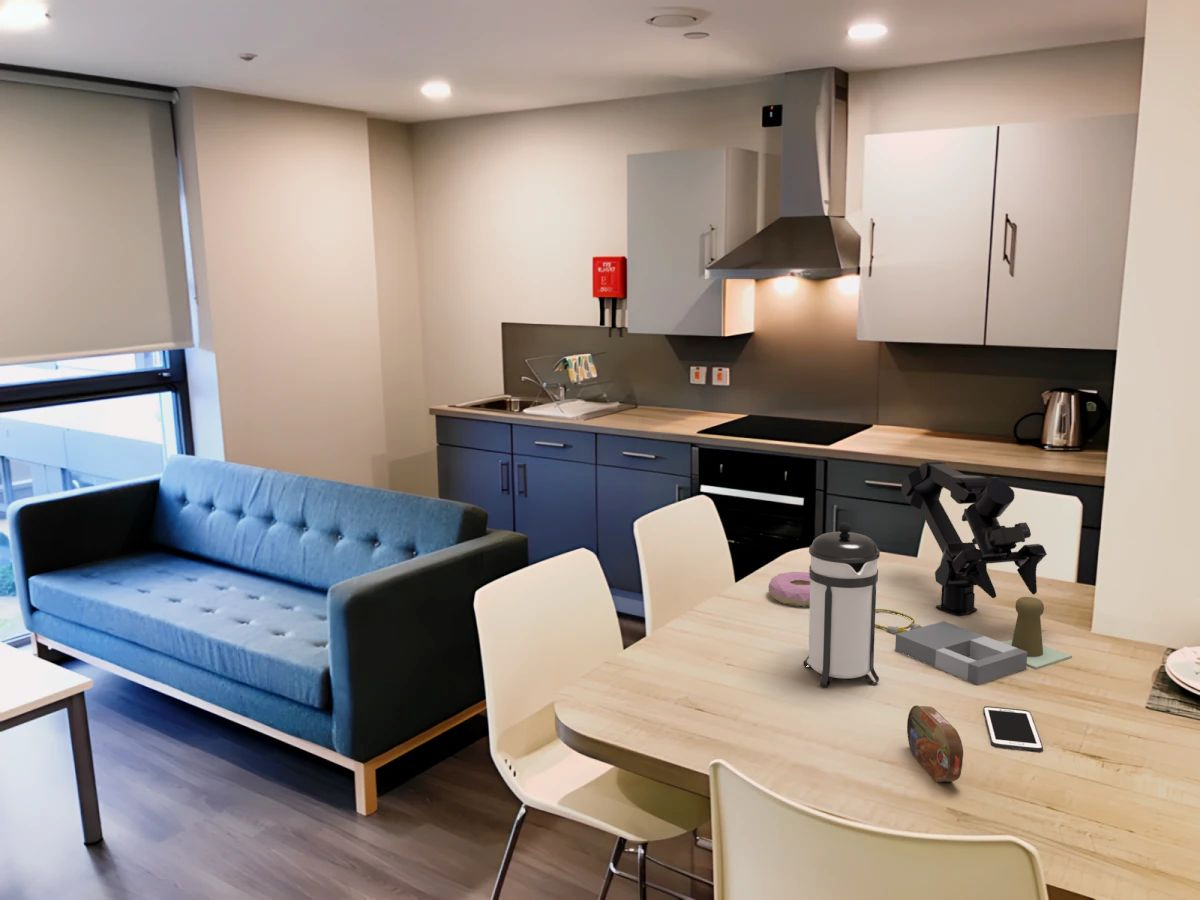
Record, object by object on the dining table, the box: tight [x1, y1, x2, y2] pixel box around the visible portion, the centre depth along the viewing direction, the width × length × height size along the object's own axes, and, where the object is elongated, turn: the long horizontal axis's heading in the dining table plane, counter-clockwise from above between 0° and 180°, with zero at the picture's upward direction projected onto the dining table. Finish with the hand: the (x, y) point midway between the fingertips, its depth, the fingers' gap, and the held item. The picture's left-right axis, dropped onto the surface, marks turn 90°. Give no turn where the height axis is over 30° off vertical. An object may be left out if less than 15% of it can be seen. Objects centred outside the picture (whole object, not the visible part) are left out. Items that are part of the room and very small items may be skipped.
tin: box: [906, 705, 964, 783], centre depth 150 cm, size 15×3×8 cm, turn 5°
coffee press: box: [803, 521, 881, 688], centre depth 184 cm, size 17×16×30 cm
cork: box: [1011, 596, 1045, 657], centre depth 194 cm, size 6×6×11 cm
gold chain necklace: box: [875, 608, 922, 635], centre depth 212 cm, size 12×16×2 cm
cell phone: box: [982, 705, 1044, 753], centre depth 163 cm, size 8×15×1 cm, turn 164°
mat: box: [1001, 638, 1073, 670], centre depth 195 cm, size 12×11×1 cm
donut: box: [768, 571, 810, 607], centre depth 230 cm, size 16×15×5 cm
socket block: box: [894, 620, 1028, 686], centre depth 192 cm, size 20×14×4 cm
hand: (1014, 595), depth 198 cm, fingers open, 9 cm apart
